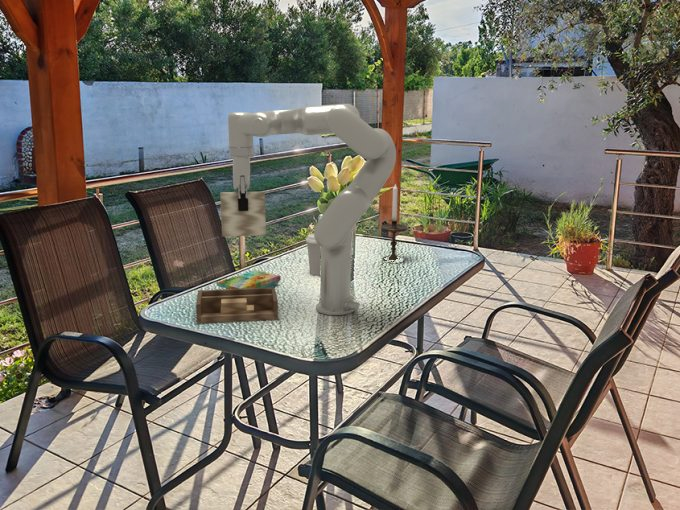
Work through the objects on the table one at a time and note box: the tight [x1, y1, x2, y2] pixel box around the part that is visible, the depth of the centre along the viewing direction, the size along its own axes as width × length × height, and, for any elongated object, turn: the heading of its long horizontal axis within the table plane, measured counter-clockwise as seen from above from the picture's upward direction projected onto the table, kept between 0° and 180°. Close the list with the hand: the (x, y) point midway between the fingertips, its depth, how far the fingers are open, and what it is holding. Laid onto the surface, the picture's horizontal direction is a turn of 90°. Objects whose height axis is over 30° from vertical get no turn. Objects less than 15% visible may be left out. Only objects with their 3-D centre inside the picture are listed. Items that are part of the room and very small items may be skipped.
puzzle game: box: [216, 269, 282, 289], centre depth 230 cm, size 12×5×20 cm
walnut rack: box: [195, 286, 279, 325], centre depth 201 cm, size 24×14×7 cm, turn 99°
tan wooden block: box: [221, 298, 254, 315], centre depth 199 cm, size 10×5×5 cm, turn 99°
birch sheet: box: [219, 191, 267, 238], centre depth 208 cm, size 14×2×14 cm, turn 99°
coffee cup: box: [305, 232, 321, 277], centre depth 248 cm, size 10×10×15 cm
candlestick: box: [380, 177, 408, 262], centre depth 265 cm, size 11×11×35 cm
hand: (243, 210), depth 208 cm, fingers closed on birch sheet, 1 cm apart
